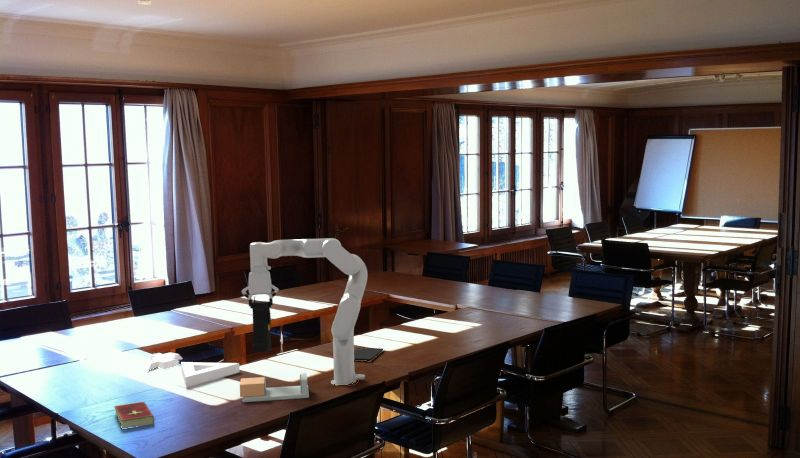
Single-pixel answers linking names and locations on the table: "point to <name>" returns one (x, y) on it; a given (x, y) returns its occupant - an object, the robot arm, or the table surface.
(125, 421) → the hardcover book
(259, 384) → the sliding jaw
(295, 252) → the robot arm
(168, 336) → the table surface
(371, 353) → the external hard drive
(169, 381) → the table surface
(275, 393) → the vise bed
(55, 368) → the table surface
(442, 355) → the table surface
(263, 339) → the portable radio
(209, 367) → the triangle block
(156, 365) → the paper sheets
